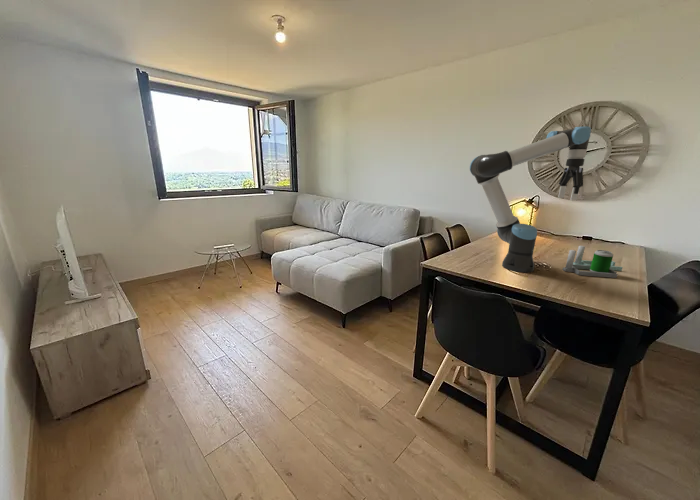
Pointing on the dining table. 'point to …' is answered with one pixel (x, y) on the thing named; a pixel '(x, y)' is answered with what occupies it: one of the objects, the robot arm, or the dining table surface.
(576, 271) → the frame
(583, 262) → the lane
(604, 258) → the soda can
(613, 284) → the dining table surface
